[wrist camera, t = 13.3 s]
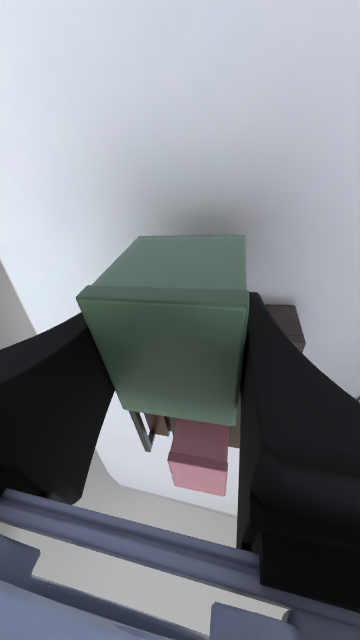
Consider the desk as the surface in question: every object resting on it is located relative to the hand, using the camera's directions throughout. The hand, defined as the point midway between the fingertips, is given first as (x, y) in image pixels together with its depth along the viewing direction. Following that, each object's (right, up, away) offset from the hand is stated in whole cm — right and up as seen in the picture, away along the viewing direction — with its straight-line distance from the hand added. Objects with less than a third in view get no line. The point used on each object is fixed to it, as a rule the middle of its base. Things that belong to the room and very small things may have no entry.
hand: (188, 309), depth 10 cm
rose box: (+2, -11, +13) cm, 17 cm away
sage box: (0, +1, +1) cm, 1 cm away
